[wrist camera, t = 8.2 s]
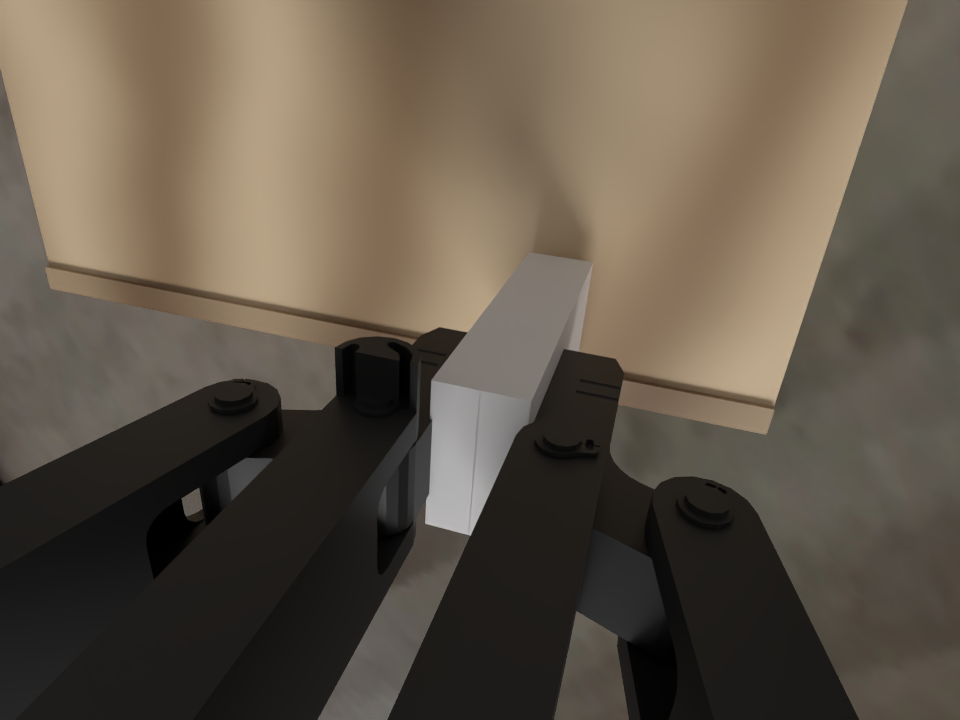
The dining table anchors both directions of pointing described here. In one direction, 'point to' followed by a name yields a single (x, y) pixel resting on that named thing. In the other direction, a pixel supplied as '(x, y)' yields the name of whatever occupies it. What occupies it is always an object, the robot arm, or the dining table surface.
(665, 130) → the plank
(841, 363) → the dining table surface
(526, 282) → the robot arm
